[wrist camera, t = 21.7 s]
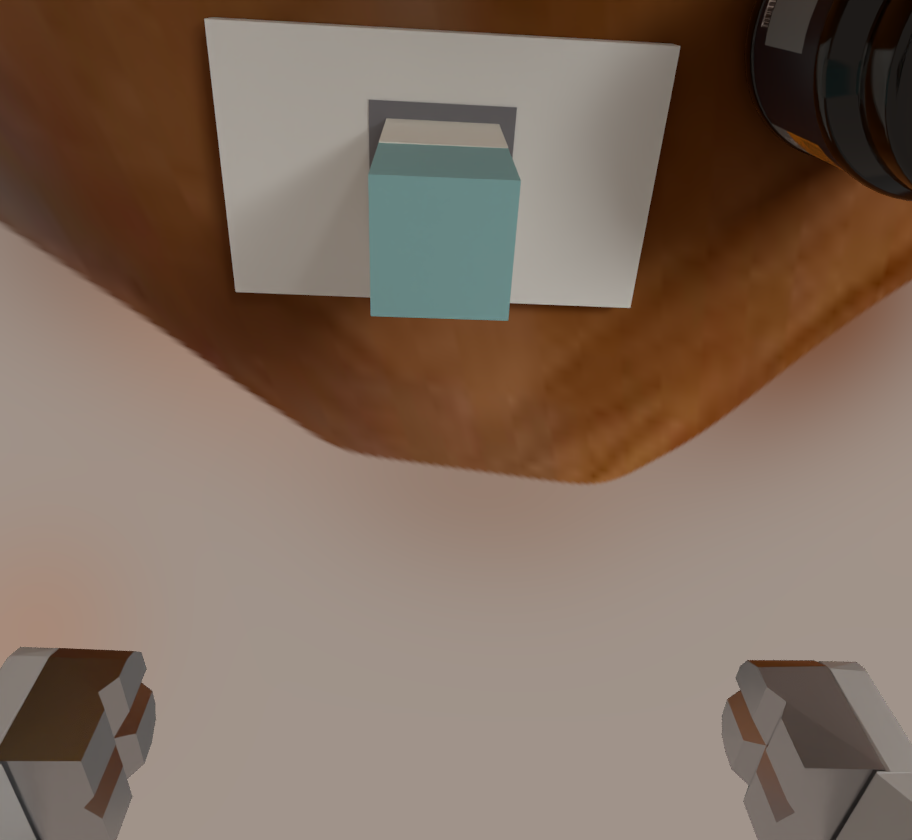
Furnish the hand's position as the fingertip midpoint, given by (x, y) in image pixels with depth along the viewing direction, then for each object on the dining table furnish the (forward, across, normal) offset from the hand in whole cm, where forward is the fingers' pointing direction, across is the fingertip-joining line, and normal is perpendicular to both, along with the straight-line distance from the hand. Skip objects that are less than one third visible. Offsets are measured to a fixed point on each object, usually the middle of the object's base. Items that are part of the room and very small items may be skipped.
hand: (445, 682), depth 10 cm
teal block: (+23, 0, 0) cm, 23 cm away
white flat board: (+29, 0, 0) cm, 29 cm away
